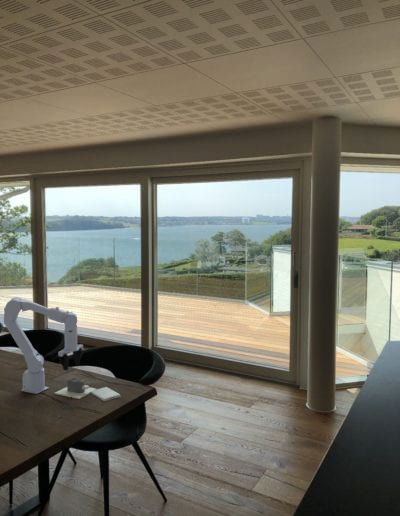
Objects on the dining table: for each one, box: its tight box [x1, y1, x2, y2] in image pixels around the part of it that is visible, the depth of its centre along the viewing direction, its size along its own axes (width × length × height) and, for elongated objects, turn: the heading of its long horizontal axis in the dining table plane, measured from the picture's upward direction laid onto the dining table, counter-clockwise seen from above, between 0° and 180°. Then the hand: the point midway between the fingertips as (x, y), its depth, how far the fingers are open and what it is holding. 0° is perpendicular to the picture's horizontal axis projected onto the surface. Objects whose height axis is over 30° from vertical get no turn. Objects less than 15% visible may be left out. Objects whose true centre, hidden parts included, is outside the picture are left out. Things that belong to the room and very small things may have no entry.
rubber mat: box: [54, 386, 98, 400], centre depth 195 cm, size 14×12×1 cm
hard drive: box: [90, 386, 122, 402], centre depth 192 cm, size 2×8×12 cm
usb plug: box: [66, 377, 90, 393], centre depth 194 cm, size 11×4×5 cm, turn 65°
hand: (71, 367), depth 201 cm, fingers open, 7 cm apart
